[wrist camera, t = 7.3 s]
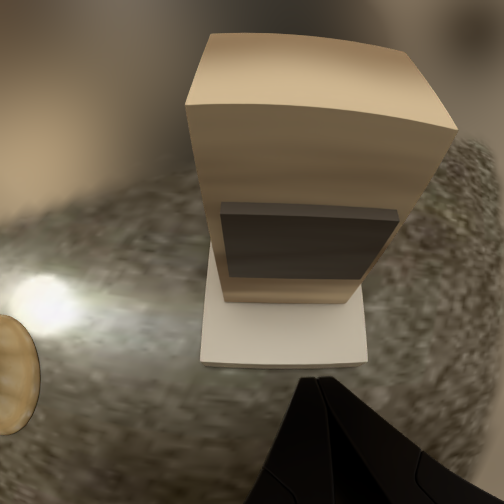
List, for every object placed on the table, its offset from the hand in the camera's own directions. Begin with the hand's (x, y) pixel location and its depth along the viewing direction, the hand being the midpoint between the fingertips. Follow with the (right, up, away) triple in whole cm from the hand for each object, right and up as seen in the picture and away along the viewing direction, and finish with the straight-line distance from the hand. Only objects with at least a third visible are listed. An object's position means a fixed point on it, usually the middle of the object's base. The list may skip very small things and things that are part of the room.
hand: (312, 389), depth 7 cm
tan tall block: (0, +3, +9) cm, 9 cm away
